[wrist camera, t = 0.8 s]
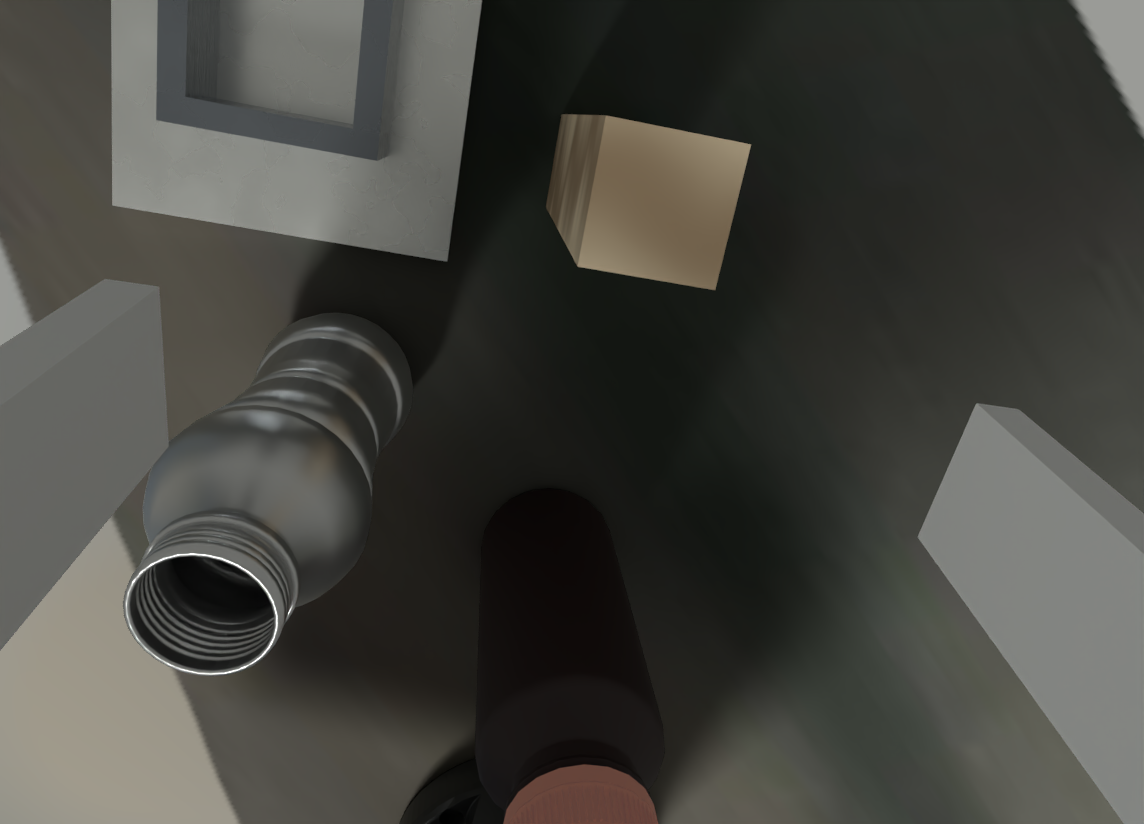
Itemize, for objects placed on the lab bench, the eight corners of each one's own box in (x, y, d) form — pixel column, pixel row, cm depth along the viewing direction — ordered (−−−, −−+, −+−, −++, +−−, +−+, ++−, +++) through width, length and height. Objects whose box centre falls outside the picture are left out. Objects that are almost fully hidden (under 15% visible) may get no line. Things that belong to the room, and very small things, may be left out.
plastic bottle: (373, 457, 40) (265, 763, 21) (247, 384, 38) (7, 648, 19) (444, 353, 38) (396, 584, 20) (317, 272, 36) (130, 441, 18)
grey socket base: (448, 257, 37) (442, 276, 32) (122, 202, 35) (71, 215, 30) (502, -148, 31) (503, -188, 27) (122, -241, 29) (59, -300, 25)
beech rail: (631, 222, 37) (715, 290, 23) (545, 206, 36) (577, 266, 22) (650, 131, 36) (751, 144, 22) (561, 114, 35) (606, 115, 21)
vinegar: (464, 505, 41) (439, 833, 22) (592, 469, 41) (674, 768, 22) (502, 612, 44) (508, 988, 25) (623, 579, 43) (719, 930, 25)
